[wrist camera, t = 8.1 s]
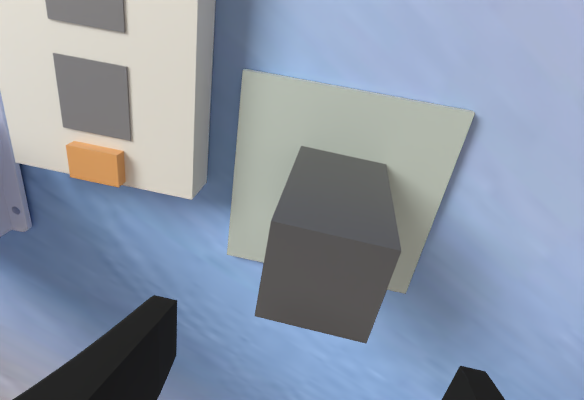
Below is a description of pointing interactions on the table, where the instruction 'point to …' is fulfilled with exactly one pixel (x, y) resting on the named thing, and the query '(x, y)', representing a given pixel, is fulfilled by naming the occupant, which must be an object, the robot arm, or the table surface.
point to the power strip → (110, 89)
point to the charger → (330, 246)
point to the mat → (342, 140)
